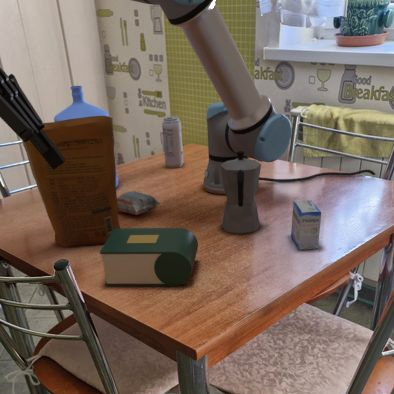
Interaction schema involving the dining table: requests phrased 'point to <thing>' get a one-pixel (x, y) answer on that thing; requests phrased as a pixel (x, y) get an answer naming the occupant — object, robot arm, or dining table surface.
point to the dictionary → (149, 256)
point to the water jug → (80, 110)
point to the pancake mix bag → (79, 180)
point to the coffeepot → (240, 194)
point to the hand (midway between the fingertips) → (59, 164)
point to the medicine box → (305, 224)
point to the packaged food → (136, 203)
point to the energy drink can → (172, 141)
